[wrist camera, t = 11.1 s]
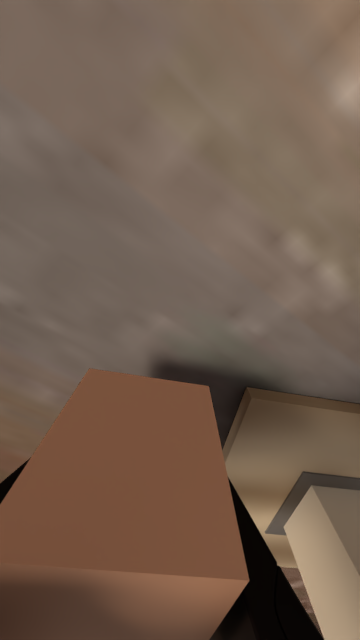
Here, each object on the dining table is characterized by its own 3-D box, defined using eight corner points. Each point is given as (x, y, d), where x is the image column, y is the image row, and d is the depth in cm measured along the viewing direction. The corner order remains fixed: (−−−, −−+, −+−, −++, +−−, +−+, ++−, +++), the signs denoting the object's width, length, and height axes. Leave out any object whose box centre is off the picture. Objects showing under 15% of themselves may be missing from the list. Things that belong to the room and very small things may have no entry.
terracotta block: (185, 463, 10) (193, 663, 5) (86, 452, 10) (0, 656, 5) (208, 386, 8) (249, 580, 4) (89, 368, 8) (-37, 560, 3)
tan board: (367, 560, 18) (376, 575, 17) (185, 545, 17) (186, 561, 16) (508, 426, 12) (532, 440, 11) (246, 387, 11) (252, 399, 10)
